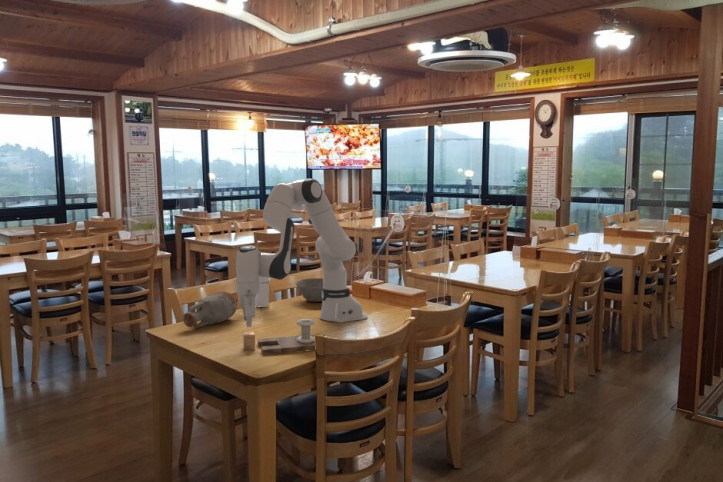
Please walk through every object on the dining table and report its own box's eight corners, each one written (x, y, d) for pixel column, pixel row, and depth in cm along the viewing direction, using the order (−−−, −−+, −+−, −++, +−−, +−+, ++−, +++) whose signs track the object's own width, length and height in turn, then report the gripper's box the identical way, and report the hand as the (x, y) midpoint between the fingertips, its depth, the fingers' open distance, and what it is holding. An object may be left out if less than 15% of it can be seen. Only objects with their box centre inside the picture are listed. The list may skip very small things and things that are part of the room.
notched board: (316, 339, 238) (316, 334, 238) (324, 349, 225) (324, 344, 224) (257, 343, 231) (257, 339, 230) (262, 354, 217) (262, 349, 217)
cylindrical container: (265, 308, 287) (265, 258, 284) (252, 307, 289) (251, 258, 285) (270, 305, 294) (270, 256, 291) (257, 304, 295) (257, 255, 292)
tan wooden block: (253, 346, 227) (253, 331, 226) (254, 349, 223) (254, 334, 223) (243, 347, 226) (243, 332, 225) (244, 350, 222) (244, 335, 221)
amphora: (248, 290, 269) (197, 289, 244) (248, 325, 267) (197, 328, 242) (227, 292, 276) (175, 291, 251) (227, 326, 274) (175, 328, 249)
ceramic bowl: (343, 297, 314) (343, 279, 312) (331, 307, 292) (331, 287, 290) (304, 294, 319) (304, 276, 317) (289, 304, 296) (289, 285, 295)
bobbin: (312, 337, 234) (312, 318, 233) (316, 342, 227) (316, 322, 226) (295, 338, 231) (295, 319, 230) (298, 344, 225) (298, 324, 224)
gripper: (259, 293, 213) (259, 330, 214) (252, 282, 232) (252, 316, 234) (242, 294, 211) (241, 331, 213) (236, 283, 230) (236, 317, 232)
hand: (247, 323), depth 223 cm, fingers open, 8 cm apart
